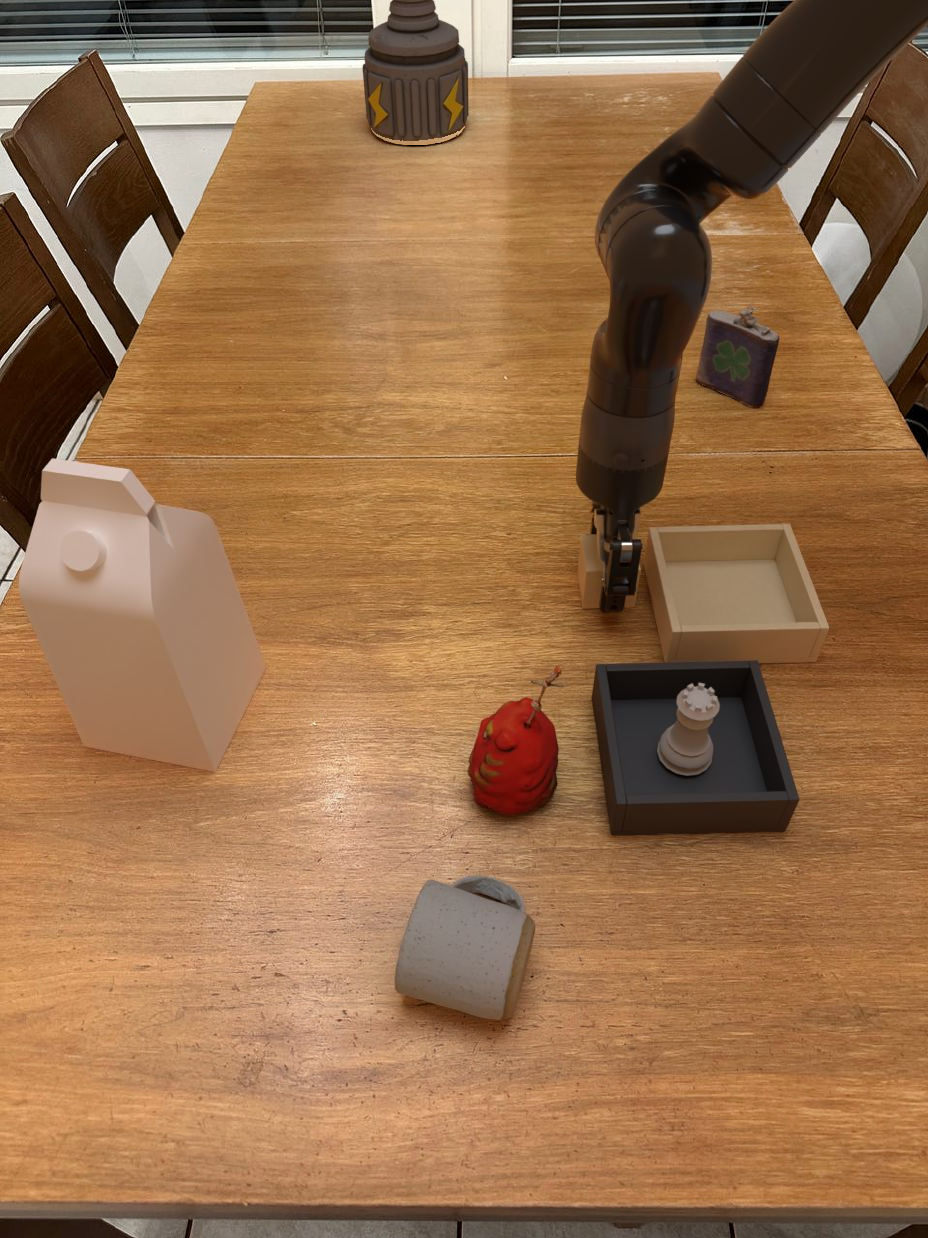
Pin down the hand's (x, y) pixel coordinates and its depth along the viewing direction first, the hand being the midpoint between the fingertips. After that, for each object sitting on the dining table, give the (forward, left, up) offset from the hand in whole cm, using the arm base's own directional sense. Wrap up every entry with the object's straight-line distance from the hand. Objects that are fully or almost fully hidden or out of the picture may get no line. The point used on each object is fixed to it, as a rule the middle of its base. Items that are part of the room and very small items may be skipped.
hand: (605, 577), depth 90 cm
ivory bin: (-11, +3, -2) cm, 12 cm away
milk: (+39, +13, -2) cm, 41 cm away
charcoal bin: (-4, +20, -2) cm, 20 cm away
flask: (-19, -33, -2) cm, 38 cm away
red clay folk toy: (+10, +22, -2) cm, 24 cm away
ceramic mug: (+14, +36, -2) cm, 39 cm away
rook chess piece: (-4, +20, -1) cm, 20 cm away
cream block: (0, 0, -2) cm, 2 cm away
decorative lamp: (+20, -119, -2) cm, 121 cm away
